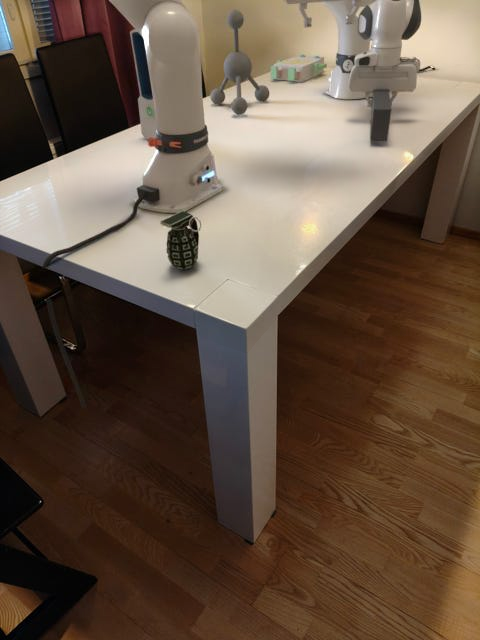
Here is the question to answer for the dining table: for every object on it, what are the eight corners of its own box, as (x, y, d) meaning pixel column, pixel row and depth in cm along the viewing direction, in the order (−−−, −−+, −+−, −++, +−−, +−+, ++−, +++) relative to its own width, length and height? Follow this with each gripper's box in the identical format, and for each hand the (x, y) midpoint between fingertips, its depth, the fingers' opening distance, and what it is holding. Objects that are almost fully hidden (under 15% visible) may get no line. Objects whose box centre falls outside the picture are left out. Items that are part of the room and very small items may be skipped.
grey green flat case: (293, 53, 221) (333, 55, 211) (293, 68, 225) (332, 72, 215) (262, 63, 205) (303, 67, 195) (262, 80, 209) (303, 84, 199)
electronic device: (141, 137, 154) (123, 28, 136) (159, 131, 158) (144, 24, 140) (166, 145, 147) (151, 30, 129) (185, 138, 151) (172, 26, 133)
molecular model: (288, 106, 174) (289, 7, 156) (237, 118, 165) (232, 15, 147) (250, 94, 190) (247, 3, 172) (202, 105, 181) (193, 10, 163)
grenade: (182, 278, 88) (175, 228, 82) (162, 268, 91) (153, 219, 85) (208, 263, 92) (203, 214, 85) (187, 253, 95) (181, 205, 89)
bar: (387, 141, 136) (391, 109, 131) (370, 141, 137) (373, 109, 132) (384, 114, 157) (388, 85, 152) (370, 114, 158) (373, 85, 153)
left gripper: (378, -56, 102) (370, 20, 111) (281, -50, 101) (281, 26, 110) (387, -56, 97) (379, 24, 106) (286, -50, 96) (285, 30, 105)
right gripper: (420, 54, 145) (412, 104, 153) (350, 55, 149) (346, 103, 157) (422, 58, 140) (414, 109, 148) (350, 59, 144) (346, 109, 152)
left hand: (328, 25), depth 108 cm, fingers open, 8 cm apart
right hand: (378, 106), depth 153 cm, fingers closed on bar, 4 cm apart
